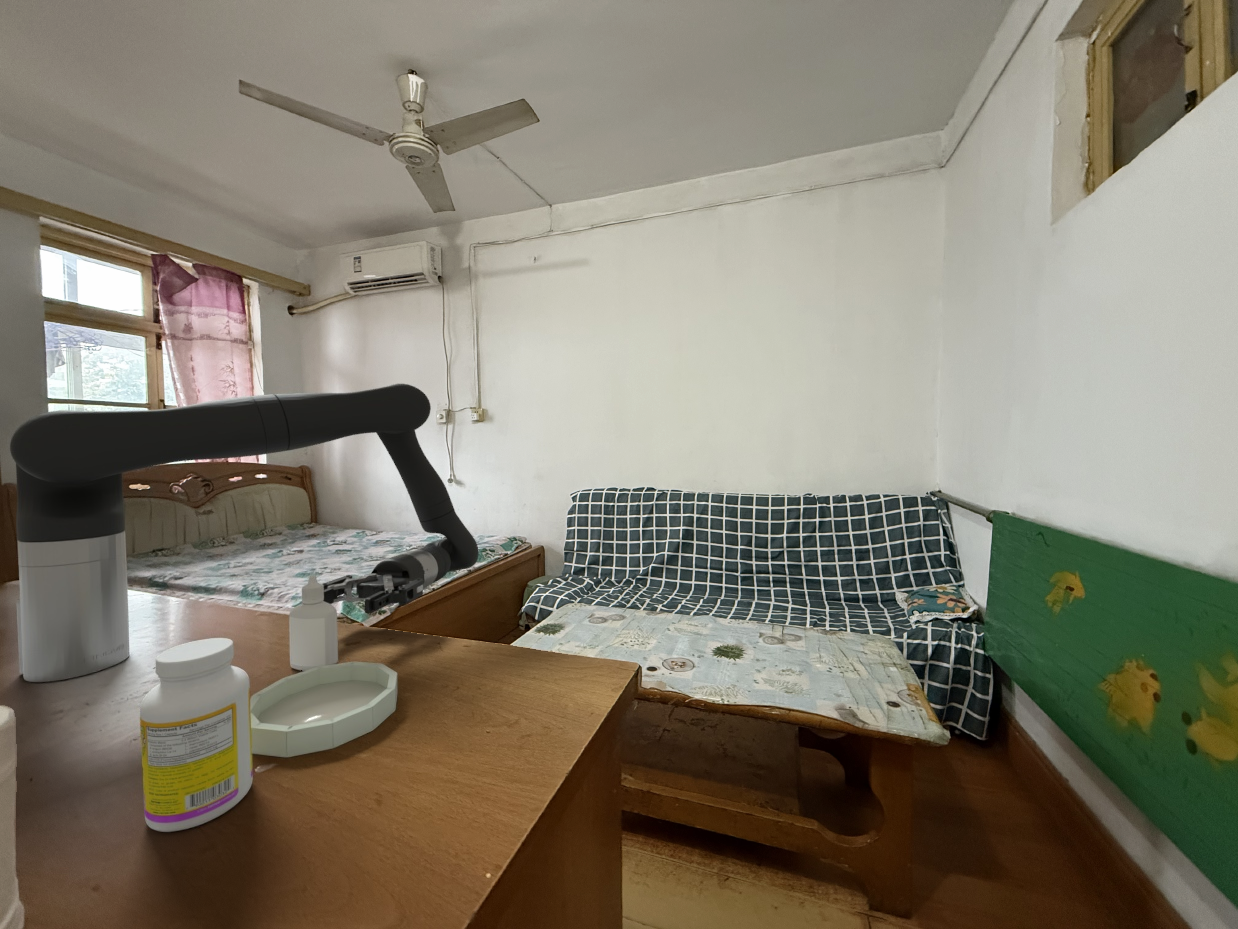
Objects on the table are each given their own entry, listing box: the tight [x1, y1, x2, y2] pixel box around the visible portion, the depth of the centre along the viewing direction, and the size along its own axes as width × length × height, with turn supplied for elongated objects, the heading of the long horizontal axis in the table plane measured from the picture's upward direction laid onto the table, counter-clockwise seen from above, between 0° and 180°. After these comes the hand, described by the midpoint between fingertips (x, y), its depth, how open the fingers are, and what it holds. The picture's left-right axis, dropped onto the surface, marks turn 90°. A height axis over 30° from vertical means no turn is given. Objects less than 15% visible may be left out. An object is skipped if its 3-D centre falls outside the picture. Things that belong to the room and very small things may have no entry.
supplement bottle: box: [139, 637, 254, 833], centre depth 39 cm, size 7×7×13 cm
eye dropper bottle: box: [288, 574, 339, 672], centre depth 63 cm, size 4×6×12 cm
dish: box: [250, 660, 398, 758], centre depth 52 cm, size 14×14×2 cm
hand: (339, 605), depth 68 cm, fingers open, 8 cm apart
